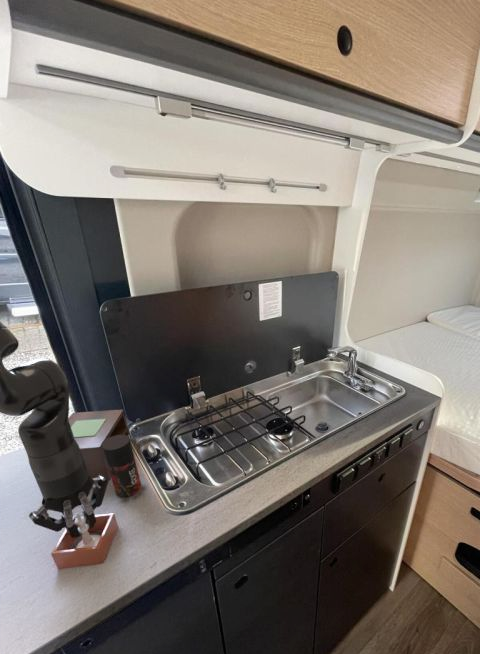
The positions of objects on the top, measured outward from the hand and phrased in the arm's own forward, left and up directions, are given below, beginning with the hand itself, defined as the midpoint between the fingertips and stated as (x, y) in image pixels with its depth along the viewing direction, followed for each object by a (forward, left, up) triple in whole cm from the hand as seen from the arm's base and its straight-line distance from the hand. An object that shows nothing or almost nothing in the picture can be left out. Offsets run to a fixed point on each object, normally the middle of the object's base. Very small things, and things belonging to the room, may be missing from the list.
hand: (83, 530), depth 67 cm
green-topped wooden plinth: (-10, +29, -5) cm, 31 cm away
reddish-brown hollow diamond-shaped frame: (0, 0, -5) cm, 5 cm away
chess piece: (0, 0, -5) cm, 5 cm away
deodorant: (+3, +16, -5) cm, 17 cm away
